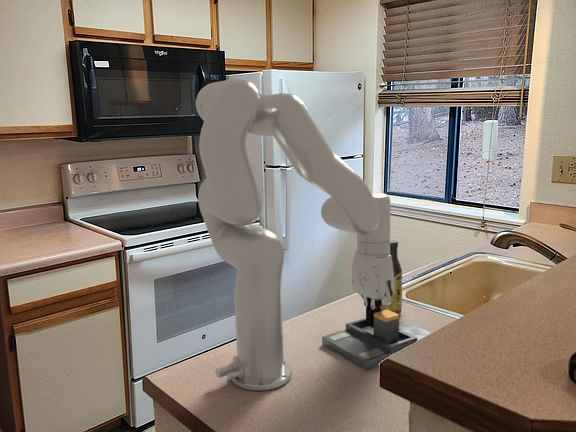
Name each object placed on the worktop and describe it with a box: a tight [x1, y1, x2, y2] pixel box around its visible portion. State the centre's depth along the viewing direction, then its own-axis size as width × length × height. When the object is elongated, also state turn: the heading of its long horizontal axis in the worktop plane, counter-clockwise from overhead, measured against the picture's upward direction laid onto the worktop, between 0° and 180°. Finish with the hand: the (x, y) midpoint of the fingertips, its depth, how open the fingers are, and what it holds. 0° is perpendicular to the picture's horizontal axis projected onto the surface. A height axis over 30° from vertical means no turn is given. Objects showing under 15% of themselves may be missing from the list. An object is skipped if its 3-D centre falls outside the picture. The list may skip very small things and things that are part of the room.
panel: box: [321, 317, 432, 372], centre depth 123 cm, size 22×16×4 cm
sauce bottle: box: [381, 239, 403, 316], centre depth 140 cm, size 7×6×20 cm
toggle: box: [374, 310, 400, 343], centre depth 120 cm, size 4×4×6 cm
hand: (373, 322), depth 124 cm, fingers closed
